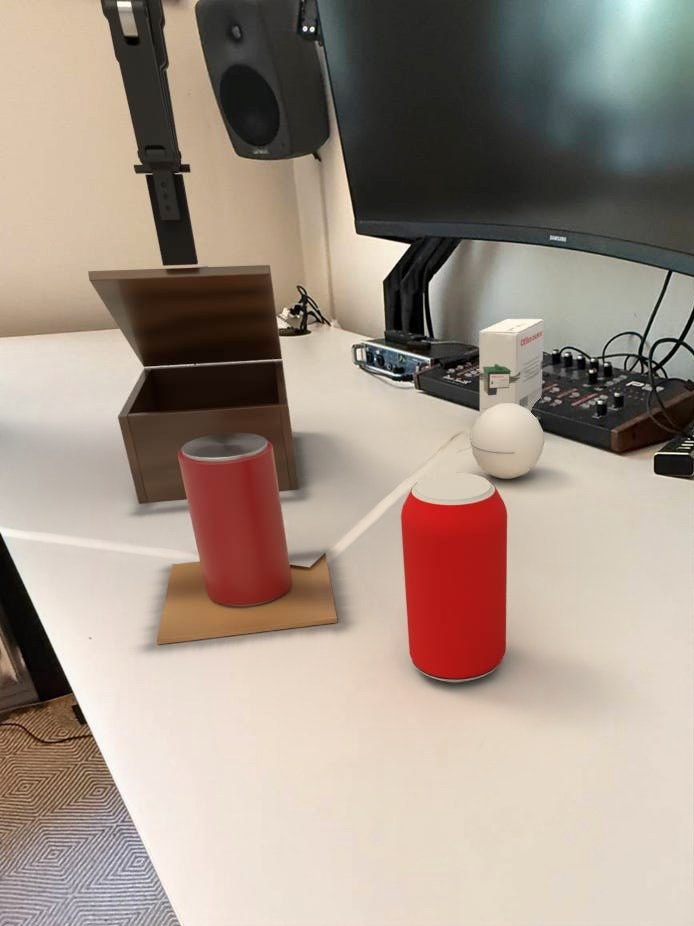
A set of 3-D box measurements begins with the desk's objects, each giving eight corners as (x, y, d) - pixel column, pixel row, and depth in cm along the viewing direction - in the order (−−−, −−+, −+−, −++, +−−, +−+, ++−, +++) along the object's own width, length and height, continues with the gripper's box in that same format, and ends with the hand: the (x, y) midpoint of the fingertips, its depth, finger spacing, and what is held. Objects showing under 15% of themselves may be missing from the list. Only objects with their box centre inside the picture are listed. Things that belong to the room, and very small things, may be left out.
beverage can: (397, 684, 49) (383, 500, 43) (426, 634, 55) (418, 464, 48) (493, 697, 48) (493, 510, 42) (514, 645, 53) (517, 471, 47)
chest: (300, 496, 77) (288, 405, 72) (140, 511, 74) (117, 416, 70) (292, 438, 93) (282, 359, 89) (161, 448, 90) (143, 367, 86)
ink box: (506, 415, 101) (506, 315, 95) (543, 419, 99) (546, 318, 93) (477, 434, 94) (476, 328, 88) (516, 439, 92) (518, 331, 86)
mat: (337, 622, 56) (336, 617, 56) (157, 644, 54) (156, 639, 53) (325, 552, 66) (324, 548, 66) (173, 568, 64) (172, 564, 63)
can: (190, 603, 58) (157, 454, 52) (235, 566, 63) (210, 428, 57) (266, 614, 56) (241, 463, 51) (307, 576, 61) (288, 435, 56)
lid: (271, 273, 68) (269, 264, 68) (89, 280, 66) (87, 270, 66) (282, 359, 89) (281, 352, 89) (143, 367, 86) (142, 359, 86)
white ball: (518, 460, 86) (520, 391, 82) (556, 481, 80) (559, 407, 76) (434, 476, 82) (432, 403, 78) (468, 499, 76) (467, 422, 72)
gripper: (159, -142, 50) (224, 271, 62) (175, -88, 61) (229, 255, 73) (29, -150, 48) (122, 275, 61) (70, -93, 59) (142, 257, 71)
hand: (180, 263), depth 67 cm, fingers closed
